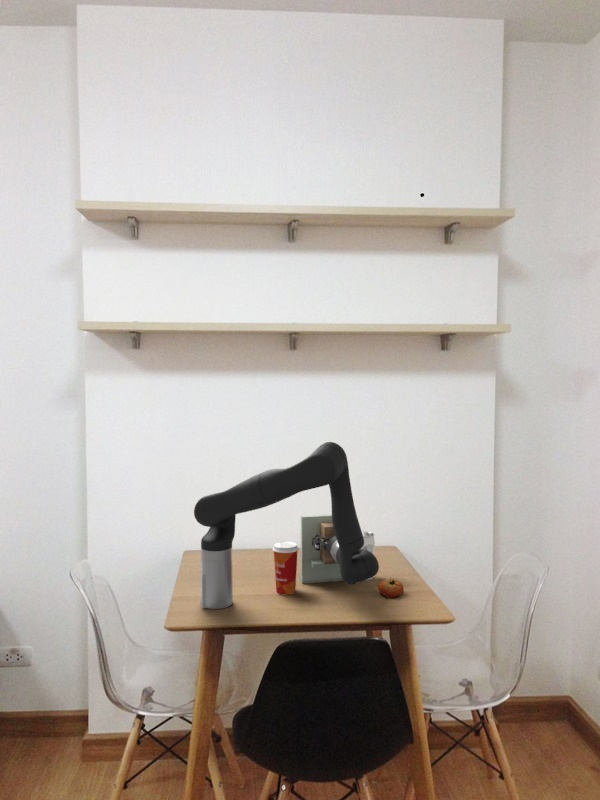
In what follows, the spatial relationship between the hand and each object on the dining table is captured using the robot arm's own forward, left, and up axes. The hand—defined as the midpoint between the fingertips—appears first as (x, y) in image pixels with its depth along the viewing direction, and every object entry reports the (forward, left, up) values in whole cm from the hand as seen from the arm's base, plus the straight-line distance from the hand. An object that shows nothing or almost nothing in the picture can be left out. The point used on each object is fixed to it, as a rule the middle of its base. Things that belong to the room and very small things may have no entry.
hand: (329, 536), depth 204 cm
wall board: (0, +3, -16) cm, 16 cm away
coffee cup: (-15, -3, -16) cm, 22 cm away
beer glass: (+13, +4, -16) cm, 21 cm away
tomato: (+17, -12, -16) cm, 26 cm away
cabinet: (0, 0, -8) cm, 8 cm away
